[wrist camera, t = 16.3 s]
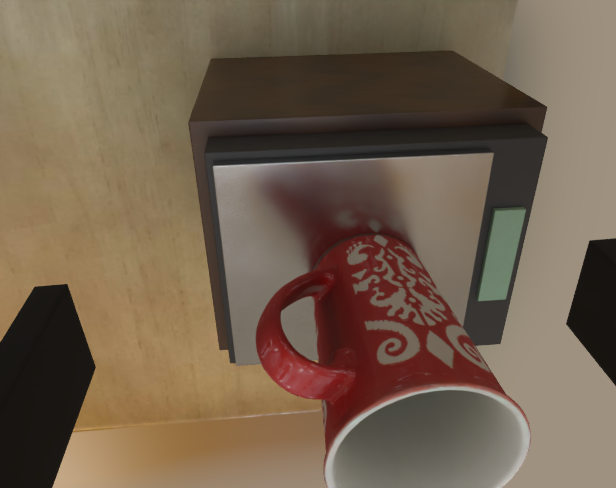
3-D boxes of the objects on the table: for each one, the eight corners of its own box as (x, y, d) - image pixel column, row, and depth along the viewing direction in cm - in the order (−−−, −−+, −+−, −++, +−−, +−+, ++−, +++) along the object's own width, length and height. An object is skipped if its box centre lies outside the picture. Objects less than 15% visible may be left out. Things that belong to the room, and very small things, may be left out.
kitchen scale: (528, 123, 33) (555, 141, 30) (487, 322, 41) (505, 351, 38) (207, 137, 31) (202, 157, 28) (231, 339, 39) (229, 371, 37)
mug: (466, 263, 33) (577, 436, 22) (378, 353, 37) (433, 544, 25) (308, 161, 29) (342, 311, 17) (223, 274, 32) (205, 463, 21)
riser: (453, 50, 48) (547, 106, 32) (432, 223, 57) (497, 331, 41) (210, 58, 46) (188, 121, 31) (229, 234, 55) (219, 350, 40)
